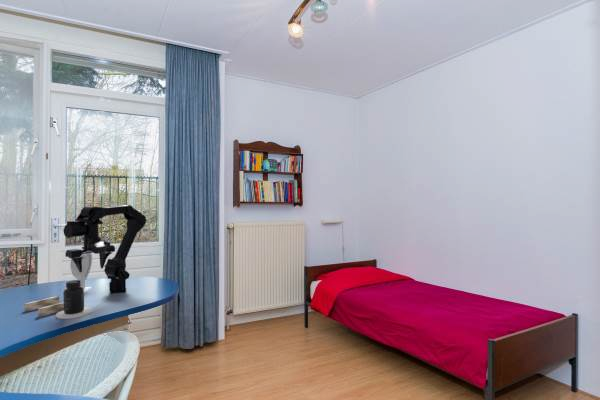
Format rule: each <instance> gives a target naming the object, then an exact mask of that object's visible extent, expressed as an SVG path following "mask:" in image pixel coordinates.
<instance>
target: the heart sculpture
mask: <svg viewBox="0 0 600 400" xmlns="http://www.w3.org/2000/svg"><path fill="white" fill-rule="evenodd" d="M81 257H83V258H82V272H81V273H80V272H79V270H78V268H77V266H76V265H75V263H74V261H73V260H72V259H71V258H70V263H69V265H70V271H71V274H72V276H73V277H74V278H75V280H80V283H81V286H80V287H82V288H83V289H84V294H85V293H86V292H87V291H89V290H90V289H92V288H93V286H86V280H87V279H88V277H89V275H90V272H91V269H92V266H93V265H92V264H93V253H87V254H82V255H81Z"/></svg>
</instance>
